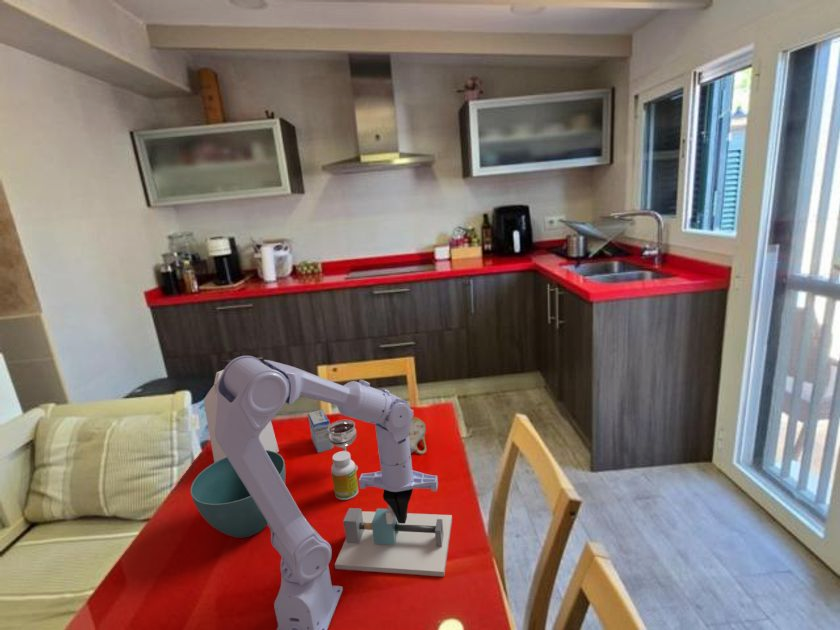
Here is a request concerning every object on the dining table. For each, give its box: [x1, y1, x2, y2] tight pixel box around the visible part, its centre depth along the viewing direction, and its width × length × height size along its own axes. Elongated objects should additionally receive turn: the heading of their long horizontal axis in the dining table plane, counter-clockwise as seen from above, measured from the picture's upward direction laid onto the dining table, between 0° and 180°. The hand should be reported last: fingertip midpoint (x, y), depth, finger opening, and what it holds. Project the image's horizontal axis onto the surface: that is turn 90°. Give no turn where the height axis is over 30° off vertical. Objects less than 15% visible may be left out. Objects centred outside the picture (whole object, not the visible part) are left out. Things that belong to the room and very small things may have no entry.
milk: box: [203, 369, 280, 463], centre depth 116 cm, size 12×12×26 cm
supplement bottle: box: [330, 450, 359, 501], centre depth 100 cm, size 5×5×10 cm
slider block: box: [372, 504, 399, 545], centre depth 84 cm, size 4×4×7 cm
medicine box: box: [307, 409, 334, 454], centre depth 122 cm, size 8×4×9 cm, turn 25°
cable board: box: [334, 507, 453, 577], centre depth 84 cm, size 14×20×6 cm
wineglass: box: [328, 419, 359, 472], centre depth 108 cm, size 7×7×12 cm
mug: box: [409, 416, 428, 455], centre depth 118 cm, size 8×10×10 cm
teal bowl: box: [190, 450, 286, 539], centre depth 93 cm, size 18×18×12 cm
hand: (402, 519), depth 83 cm, fingers closed
